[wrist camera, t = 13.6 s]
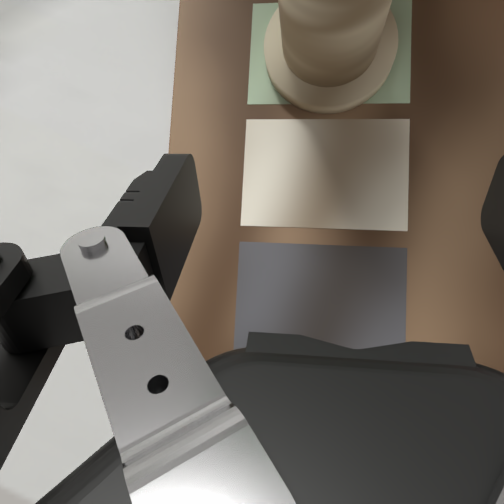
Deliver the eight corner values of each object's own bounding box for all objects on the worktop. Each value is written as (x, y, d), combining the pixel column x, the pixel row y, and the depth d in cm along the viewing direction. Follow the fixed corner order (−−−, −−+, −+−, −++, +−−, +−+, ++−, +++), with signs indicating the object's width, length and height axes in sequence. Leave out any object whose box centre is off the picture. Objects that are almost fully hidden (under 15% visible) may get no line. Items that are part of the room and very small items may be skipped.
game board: (157, 371, 18) (152, 373, 18) (190, -91, 20) (187, -103, 20) (658, 412, 16) (673, 417, 15) (639, -123, 18) (651, -138, 17)
